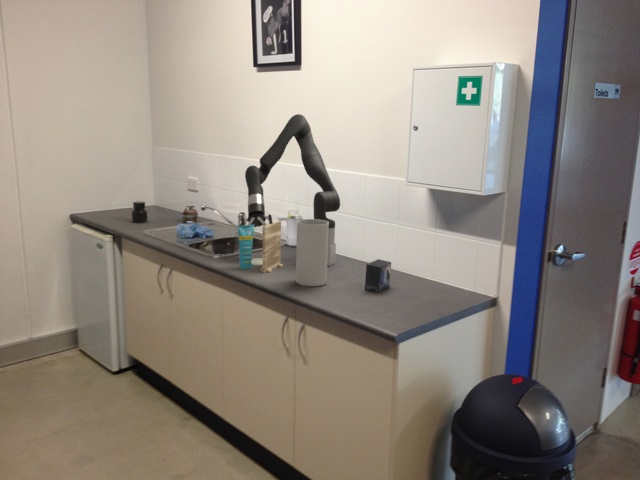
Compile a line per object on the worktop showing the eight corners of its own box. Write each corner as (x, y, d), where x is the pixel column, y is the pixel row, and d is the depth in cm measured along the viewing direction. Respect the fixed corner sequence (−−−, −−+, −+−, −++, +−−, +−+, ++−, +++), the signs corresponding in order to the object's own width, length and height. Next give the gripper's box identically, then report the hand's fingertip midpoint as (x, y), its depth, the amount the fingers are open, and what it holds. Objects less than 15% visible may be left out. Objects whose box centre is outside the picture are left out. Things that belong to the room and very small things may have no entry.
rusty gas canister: (180, 221, 352) (180, 205, 350) (196, 220, 356) (196, 204, 354) (183, 224, 344) (183, 207, 342) (199, 223, 348) (199, 207, 346)
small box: (378, 292, 223) (380, 266, 220) (364, 289, 226) (365, 263, 224) (390, 286, 231) (392, 261, 229) (376, 283, 235) (377, 258, 232)
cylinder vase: (311, 276, 241) (313, 218, 236) (332, 283, 233) (335, 222, 227) (289, 281, 233) (290, 221, 227) (310, 289, 224) (312, 226, 219)
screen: (284, 266, 257) (284, 222, 252) (268, 273, 244) (269, 227, 240) (274, 264, 259) (275, 220, 254) (258, 271, 246) (258, 225, 242)
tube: (240, 270, 247) (240, 226, 243) (235, 267, 251) (235, 224, 247) (255, 268, 251) (256, 225, 247) (250, 265, 255) (251, 223, 251)
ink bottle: (141, 219, 352) (141, 200, 350) (151, 221, 347) (150, 202, 345) (128, 221, 344) (127, 202, 342) (137, 223, 339) (136, 203, 337)
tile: (275, 261, 263) (275, 260, 263) (263, 267, 254) (263, 265, 253) (254, 258, 268) (254, 257, 268) (241, 263, 258) (241, 262, 258)
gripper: (273, 208, 266) (274, 239, 259) (242, 211, 267) (243, 243, 260) (270, 200, 259) (271, 232, 253) (239, 204, 260) (239, 236, 253)
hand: (257, 237), depth 256 cm, fingers open, 8 cm apart
